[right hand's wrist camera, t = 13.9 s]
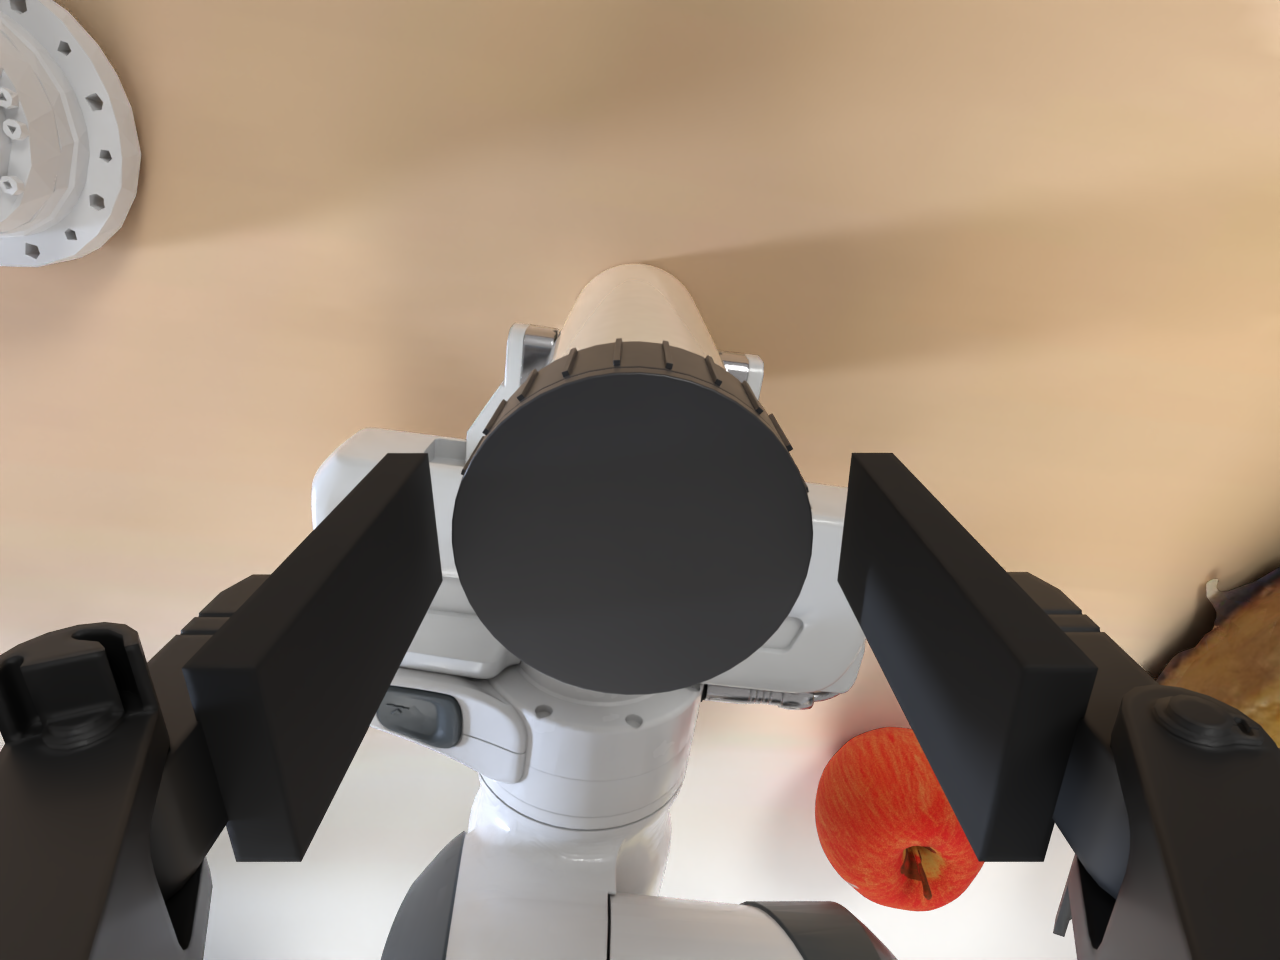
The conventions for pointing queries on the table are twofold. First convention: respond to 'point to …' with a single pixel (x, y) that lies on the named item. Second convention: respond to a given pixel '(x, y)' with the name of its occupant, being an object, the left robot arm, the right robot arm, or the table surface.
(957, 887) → the apple
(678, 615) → the lid
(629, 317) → the white bottle
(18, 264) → the mechanical component
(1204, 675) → the bread
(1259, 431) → the table surface
